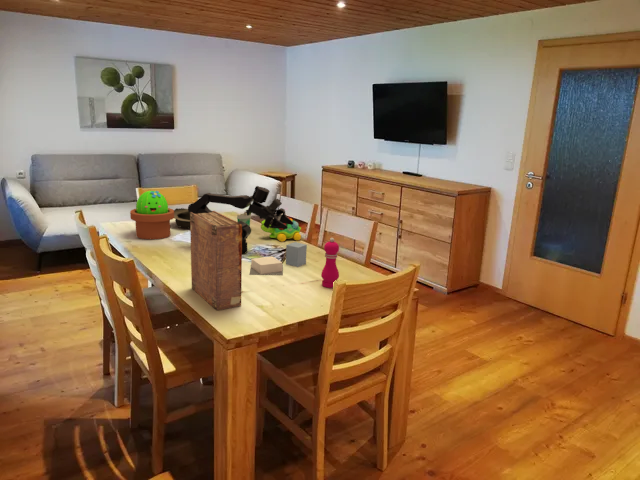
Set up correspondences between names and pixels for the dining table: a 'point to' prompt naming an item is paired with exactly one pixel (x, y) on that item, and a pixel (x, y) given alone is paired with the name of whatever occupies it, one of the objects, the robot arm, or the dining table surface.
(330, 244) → the pepper mill
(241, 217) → the food container
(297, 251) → the tall brick
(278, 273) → the baseplate
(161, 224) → the potted cactus
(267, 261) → the base brick
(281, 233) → the turtle toy
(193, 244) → the book
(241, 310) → the dining table surface
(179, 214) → the stone bowl
